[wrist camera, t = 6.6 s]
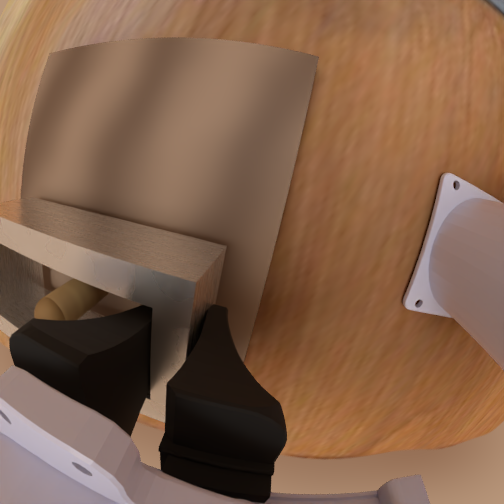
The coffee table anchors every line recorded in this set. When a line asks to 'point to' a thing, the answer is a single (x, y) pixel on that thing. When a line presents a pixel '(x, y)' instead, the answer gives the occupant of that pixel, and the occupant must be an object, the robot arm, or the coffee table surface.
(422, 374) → the coffee table surface
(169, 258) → the cream hollow block
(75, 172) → the board
